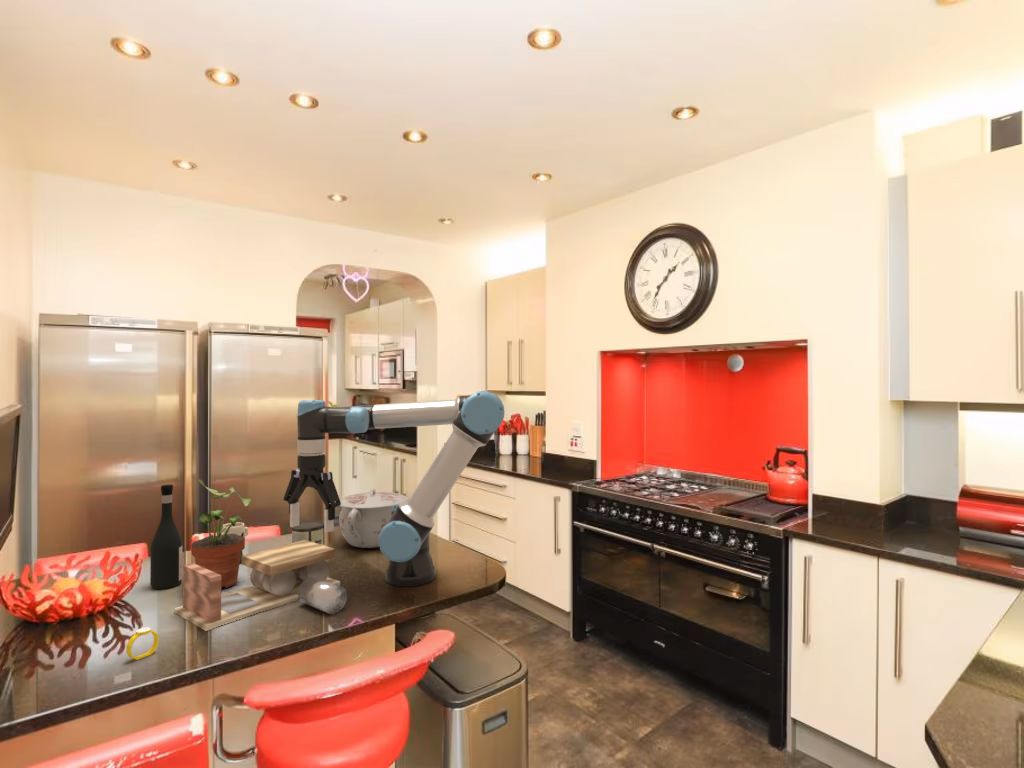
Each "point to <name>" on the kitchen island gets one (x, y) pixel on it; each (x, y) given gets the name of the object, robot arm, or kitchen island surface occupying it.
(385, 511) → the chamber pot
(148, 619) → the kitchen island surface
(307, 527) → the coffee can
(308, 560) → the oak slab
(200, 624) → the roller bed
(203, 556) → the potted plant
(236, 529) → the character mug
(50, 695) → the kitchen island surface
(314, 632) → the kitchen island surface
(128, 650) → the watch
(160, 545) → the wine bottle
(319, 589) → the loose roller
